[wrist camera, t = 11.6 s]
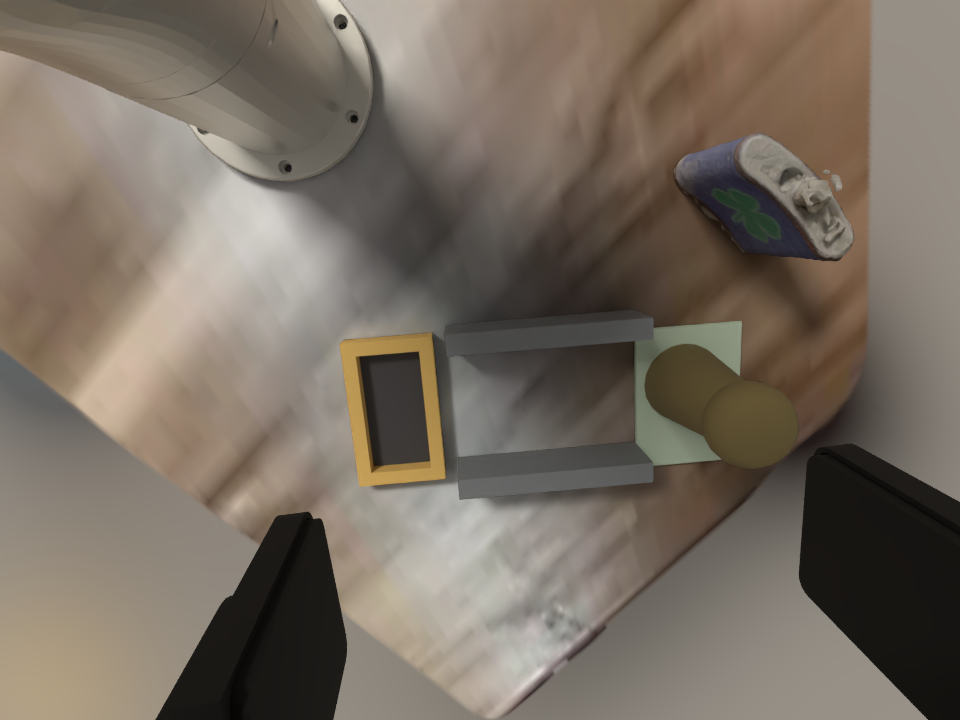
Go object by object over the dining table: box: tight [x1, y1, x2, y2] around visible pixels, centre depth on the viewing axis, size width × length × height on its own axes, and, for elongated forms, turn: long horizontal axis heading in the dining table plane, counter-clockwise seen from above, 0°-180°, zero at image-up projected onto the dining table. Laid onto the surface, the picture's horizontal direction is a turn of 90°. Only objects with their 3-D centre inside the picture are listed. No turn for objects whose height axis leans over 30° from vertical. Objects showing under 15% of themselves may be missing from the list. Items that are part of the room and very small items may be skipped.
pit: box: [340, 333, 446, 487], centre depth 39 cm, size 11×6×2 cm, turn 4°
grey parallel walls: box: [444, 309, 654, 500], centre depth 38 cm, size 12×14×4 cm
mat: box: [634, 321, 742, 466], centre depth 41 cm, size 11×8×1 cm
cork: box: [644, 344, 799, 469], centre depth 35 cm, size 6×6×11 cm
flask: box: [673, 133, 854, 261], centre depth 33 cm, size 9×3×11 cm, turn 48°
